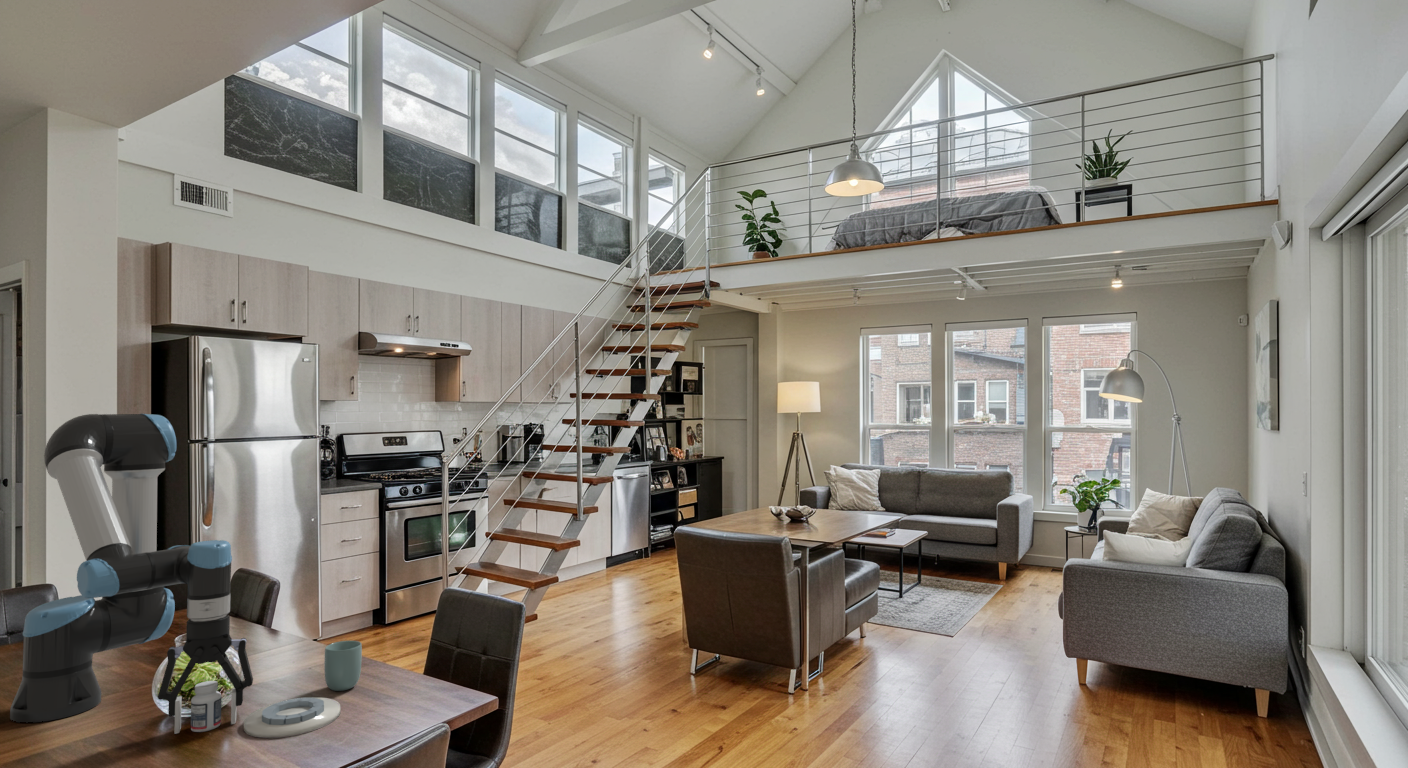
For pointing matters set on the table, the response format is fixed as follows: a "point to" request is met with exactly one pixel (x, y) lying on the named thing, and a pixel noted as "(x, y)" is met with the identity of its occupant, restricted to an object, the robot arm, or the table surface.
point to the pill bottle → (206, 707)
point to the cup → (342, 664)
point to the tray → (291, 717)
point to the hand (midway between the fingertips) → (206, 726)
